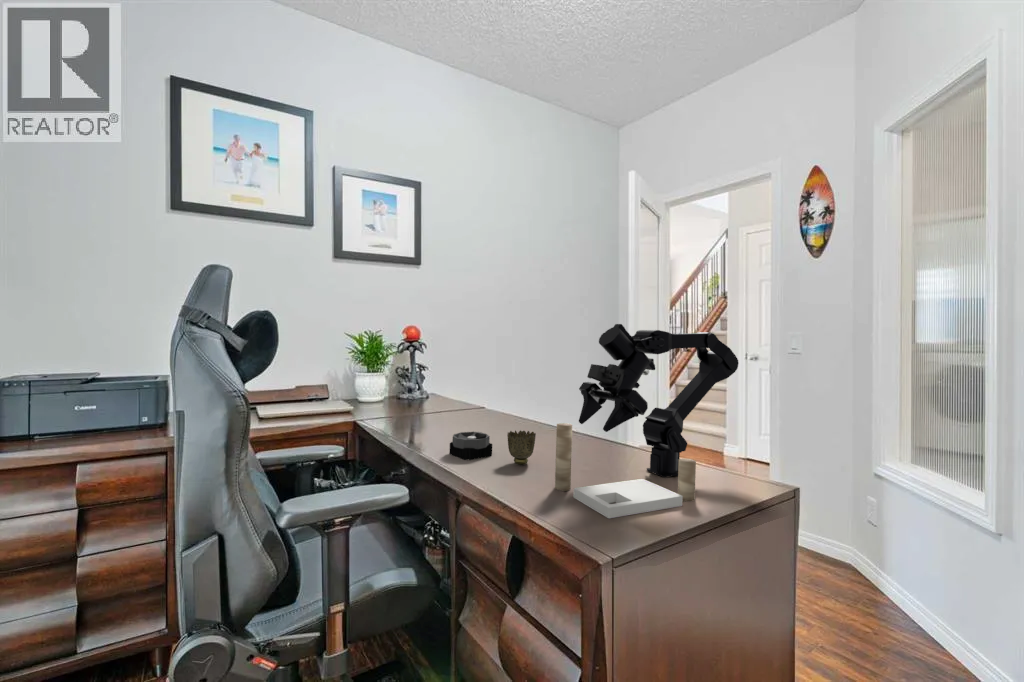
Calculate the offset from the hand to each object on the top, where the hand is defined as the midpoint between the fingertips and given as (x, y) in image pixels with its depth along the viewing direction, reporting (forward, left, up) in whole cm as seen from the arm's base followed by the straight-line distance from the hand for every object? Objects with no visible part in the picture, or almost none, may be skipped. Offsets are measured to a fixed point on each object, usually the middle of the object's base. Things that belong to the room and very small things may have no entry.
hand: (591, 426), depth 109 cm
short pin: (-14, +15, -13) cm, 24 cm away
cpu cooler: (+17, -33, -13) cm, 40 cm away
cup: (+7, -21, -13) cm, 26 cm away
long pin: (+7, 0, -13) cm, 15 cm away
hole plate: (-1, +12, -13) cm, 18 cm away
